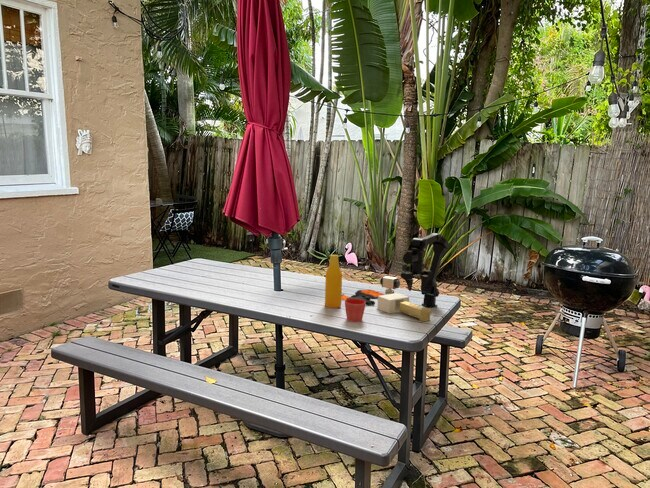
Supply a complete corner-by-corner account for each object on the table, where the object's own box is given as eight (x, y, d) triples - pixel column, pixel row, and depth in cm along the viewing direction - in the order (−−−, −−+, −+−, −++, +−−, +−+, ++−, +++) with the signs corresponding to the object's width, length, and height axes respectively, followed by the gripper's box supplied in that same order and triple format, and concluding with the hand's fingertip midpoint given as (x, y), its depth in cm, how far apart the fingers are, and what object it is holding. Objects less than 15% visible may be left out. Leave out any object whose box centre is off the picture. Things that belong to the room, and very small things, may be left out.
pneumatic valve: (395, 297, 284) (396, 277, 282) (379, 293, 291) (380, 275, 289) (400, 295, 288) (401, 276, 286) (384, 292, 295) (384, 273, 294)
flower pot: (363, 316, 244) (364, 298, 243) (366, 323, 233) (366, 304, 232) (343, 316, 244) (344, 298, 242) (345, 322, 233) (345, 304, 231)
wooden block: (407, 311, 254) (407, 300, 253) (429, 320, 240) (430, 308, 239) (398, 313, 250) (398, 302, 249) (420, 322, 236) (421, 310, 235)
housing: (396, 305, 267) (397, 292, 266) (408, 309, 258) (409, 296, 257) (377, 308, 259) (377, 295, 258) (389, 313, 251) (389, 300, 250)
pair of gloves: (361, 291, 298) (361, 286, 297) (394, 298, 282) (395, 293, 282) (335, 299, 277) (335, 294, 276) (369, 308, 261) (369, 302, 261)
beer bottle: (322, 304, 265) (323, 254, 261) (337, 303, 268) (338, 253, 264) (328, 308, 256) (329, 257, 252) (343, 307, 260) (345, 256, 255)
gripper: (419, 257, 263) (418, 284, 265) (394, 260, 253) (393, 288, 255) (434, 261, 254) (432, 289, 256) (408, 264, 244) (407, 293, 246)
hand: (416, 289), depth 254 cm, fingers open, 9 cm apart
